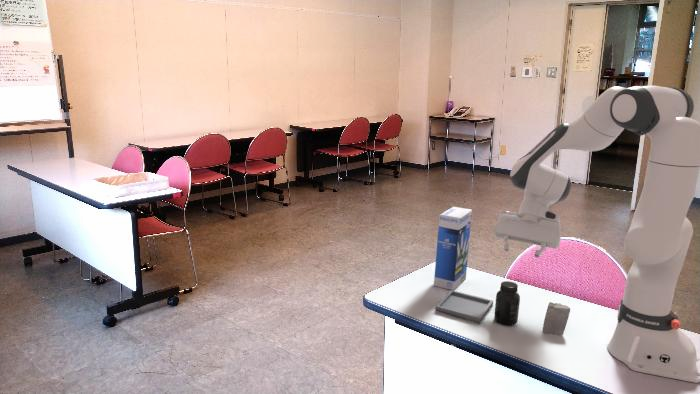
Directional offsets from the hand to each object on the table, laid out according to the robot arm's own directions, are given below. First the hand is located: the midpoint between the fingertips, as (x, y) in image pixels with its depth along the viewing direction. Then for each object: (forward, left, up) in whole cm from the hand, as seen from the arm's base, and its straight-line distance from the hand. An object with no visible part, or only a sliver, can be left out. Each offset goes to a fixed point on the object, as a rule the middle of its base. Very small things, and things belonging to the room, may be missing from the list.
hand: (521, 253), depth 163 cm
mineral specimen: (-13, +9, -18) cm, 24 cm away
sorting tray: (+13, +11, -18) cm, 25 cm away
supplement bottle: (0, +12, -18) cm, 22 cm away
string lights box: (+24, -6, -18) cm, 30 cm away
